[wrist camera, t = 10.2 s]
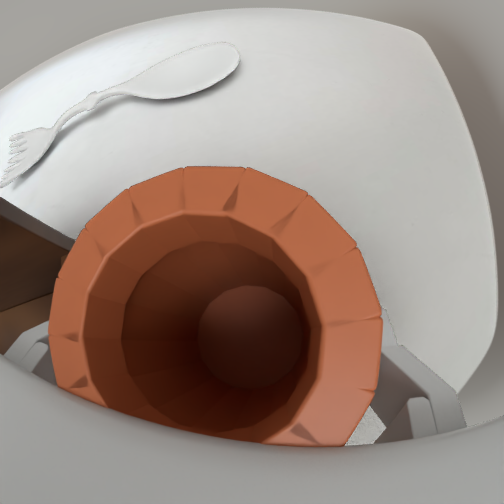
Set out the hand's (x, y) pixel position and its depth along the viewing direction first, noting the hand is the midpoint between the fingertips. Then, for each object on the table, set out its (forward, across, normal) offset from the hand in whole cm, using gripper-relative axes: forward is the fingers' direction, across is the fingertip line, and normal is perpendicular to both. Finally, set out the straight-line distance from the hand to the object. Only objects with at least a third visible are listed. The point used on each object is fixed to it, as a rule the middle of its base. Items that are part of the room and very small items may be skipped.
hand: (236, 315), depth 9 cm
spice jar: (+3, 0, -4) cm, 6 cm away
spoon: (+22, -19, +7) cm, 30 cm away
